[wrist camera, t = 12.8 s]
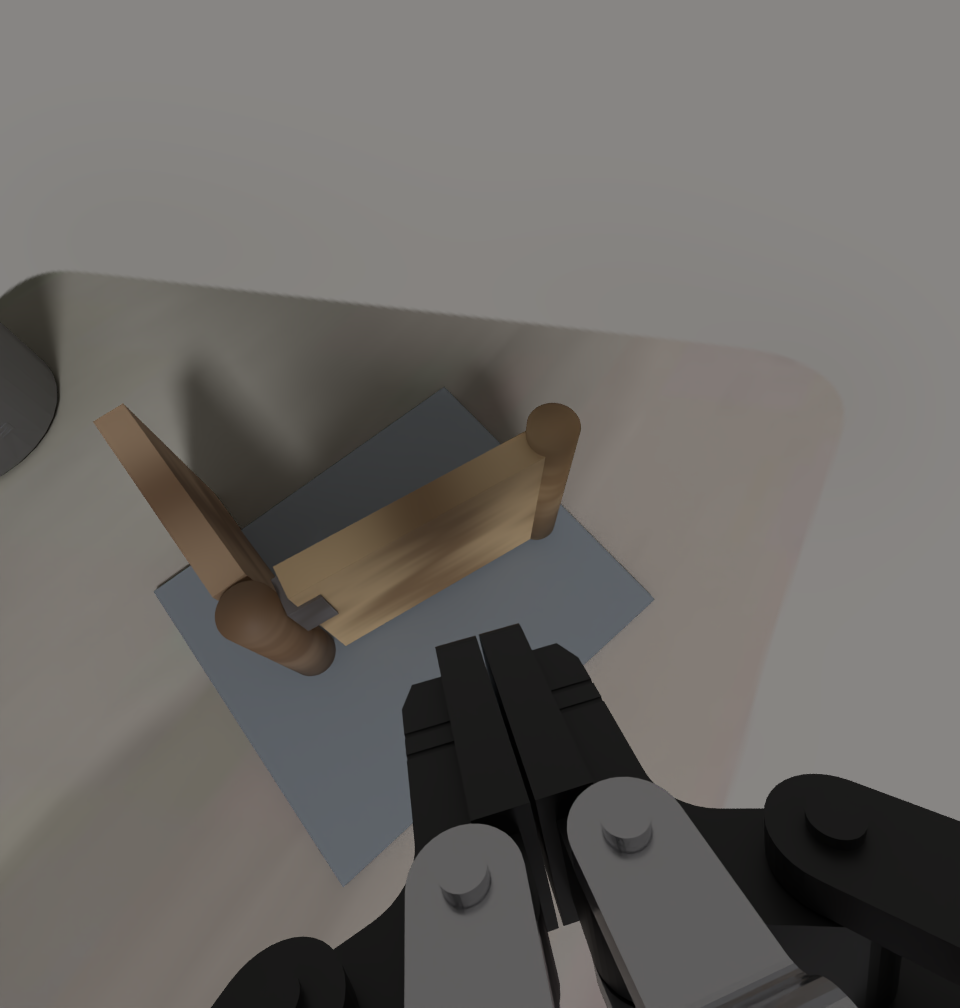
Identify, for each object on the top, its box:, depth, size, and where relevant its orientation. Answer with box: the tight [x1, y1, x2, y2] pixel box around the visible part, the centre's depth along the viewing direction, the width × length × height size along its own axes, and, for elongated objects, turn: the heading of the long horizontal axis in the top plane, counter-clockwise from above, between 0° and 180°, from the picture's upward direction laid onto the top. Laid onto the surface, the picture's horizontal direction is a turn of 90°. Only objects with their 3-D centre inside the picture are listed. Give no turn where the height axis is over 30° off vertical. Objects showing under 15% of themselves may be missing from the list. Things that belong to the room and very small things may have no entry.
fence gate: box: [271, 403, 581, 646], centre depth 23 cm, size 11×2×9 cm, turn 121°
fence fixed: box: [93, 404, 336, 676], centre depth 24 cm, size 11×2×8 cm, turn 40°
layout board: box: [154, 387, 654, 887], centre depth 27 cm, size 15×17×1 cm
